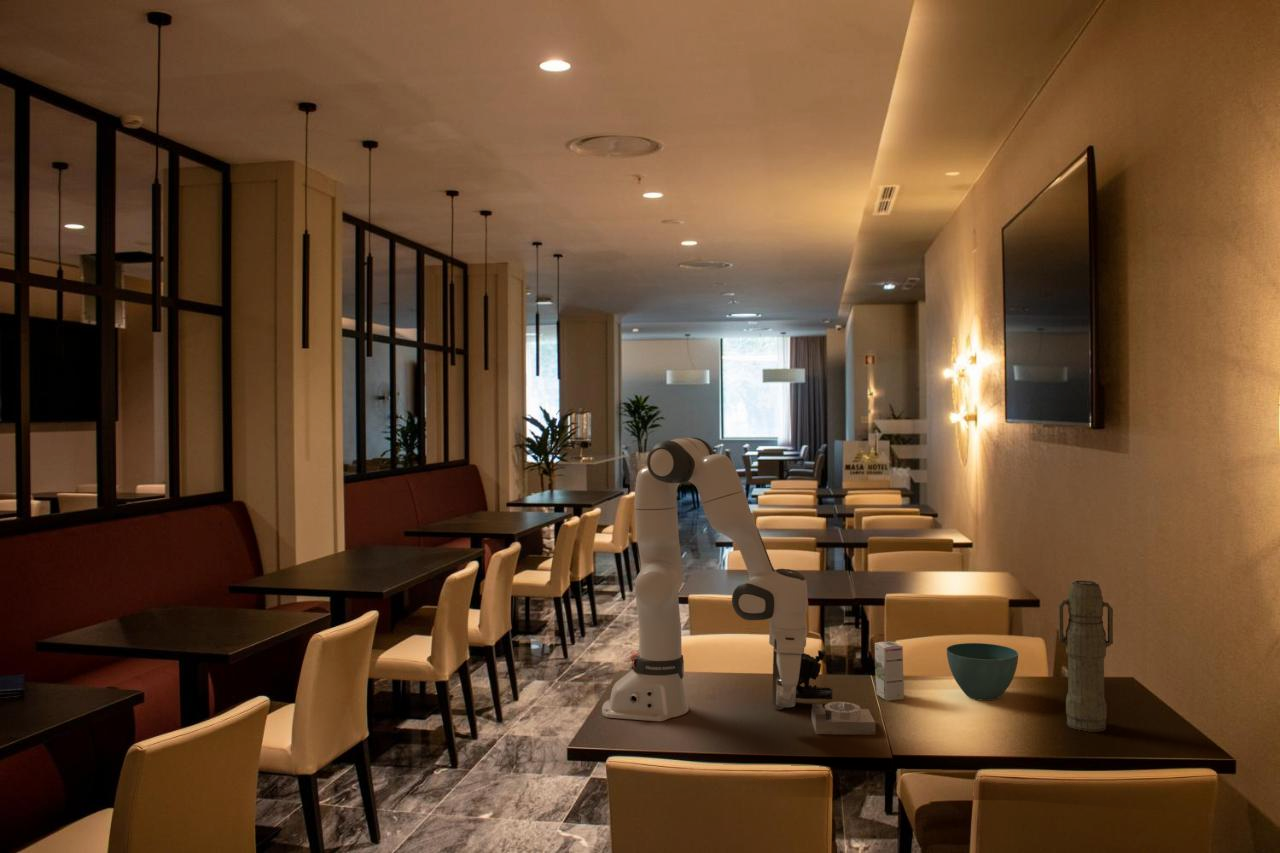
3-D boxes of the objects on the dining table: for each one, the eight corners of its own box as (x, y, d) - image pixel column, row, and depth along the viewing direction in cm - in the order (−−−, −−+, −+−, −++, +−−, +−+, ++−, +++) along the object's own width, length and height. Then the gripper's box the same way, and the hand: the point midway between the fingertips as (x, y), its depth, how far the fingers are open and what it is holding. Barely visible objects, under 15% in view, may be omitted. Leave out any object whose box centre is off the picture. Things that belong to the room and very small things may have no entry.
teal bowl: (954, 705, 247) (954, 658, 247) (940, 685, 265) (940, 641, 265) (1027, 707, 245) (1026, 660, 244) (1008, 686, 263) (1007, 642, 262)
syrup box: (904, 699, 252) (904, 645, 252) (884, 701, 251) (884, 646, 251) (894, 693, 258) (893, 640, 258) (874, 695, 257) (873, 641, 256)
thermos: (1117, 733, 224) (1117, 586, 223) (1064, 730, 227) (1063, 584, 226) (1108, 721, 232) (1107, 579, 232) (1056, 718, 235) (1055, 578, 235)
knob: (776, 706, 226) (777, 681, 225) (774, 700, 230) (775, 676, 230) (796, 707, 225) (797, 683, 225) (795, 701, 230) (795, 677, 230)
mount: (816, 734, 226) (815, 713, 226) (811, 720, 236) (811, 700, 236) (875, 734, 225) (875, 713, 225) (868, 721, 235) (868, 701, 235)
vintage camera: (832, 715, 242) (834, 637, 242) (771, 709, 245) (773, 633, 245) (832, 704, 251) (834, 629, 251) (773, 699, 254) (775, 625, 254)
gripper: (772, 626, 238) (770, 681, 238) (777, 647, 218) (775, 706, 218) (797, 628, 238) (795, 682, 238) (805, 648, 217) (802, 708, 217)
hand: (785, 694), depth 228 cm, fingers closed on knob, 5 cm apart
